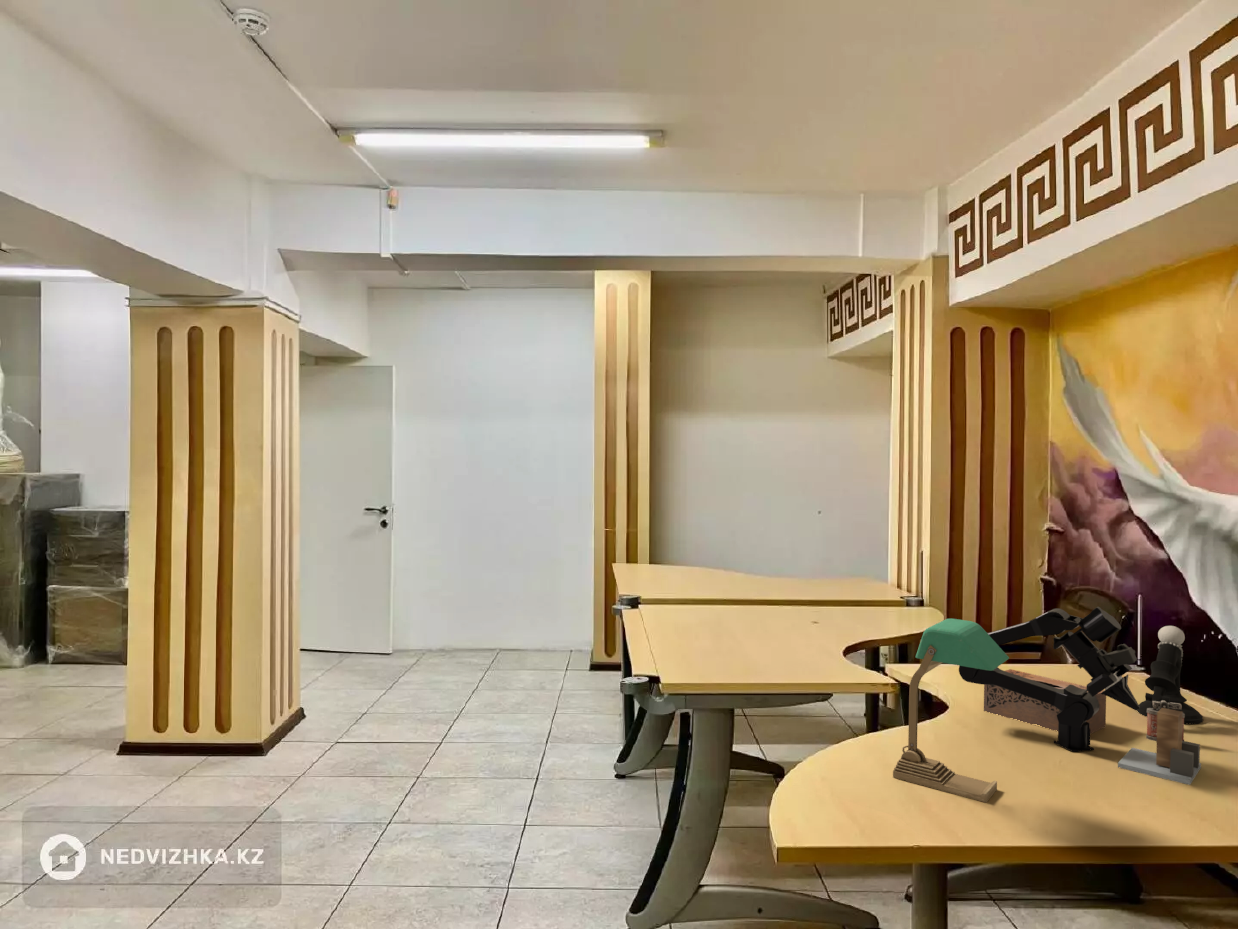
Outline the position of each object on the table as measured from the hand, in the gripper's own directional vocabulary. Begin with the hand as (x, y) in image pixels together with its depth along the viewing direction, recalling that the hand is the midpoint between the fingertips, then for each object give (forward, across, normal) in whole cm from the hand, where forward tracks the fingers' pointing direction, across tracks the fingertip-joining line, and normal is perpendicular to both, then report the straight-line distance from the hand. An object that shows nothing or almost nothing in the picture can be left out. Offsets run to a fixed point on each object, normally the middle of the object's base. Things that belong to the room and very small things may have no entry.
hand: (1137, 709), depth 186 cm
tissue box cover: (-9, +18, +27) cm, 34 cm away
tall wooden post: (+12, 0, +3) cm, 13 cm away
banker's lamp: (-9, -46, +28) cm, 54 cm away
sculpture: (+8, +43, +10) cm, 45 cm away
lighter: (+10, +22, +8) cm, 26 cm away
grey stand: (+12, 0, +6) cm, 13 cm away
